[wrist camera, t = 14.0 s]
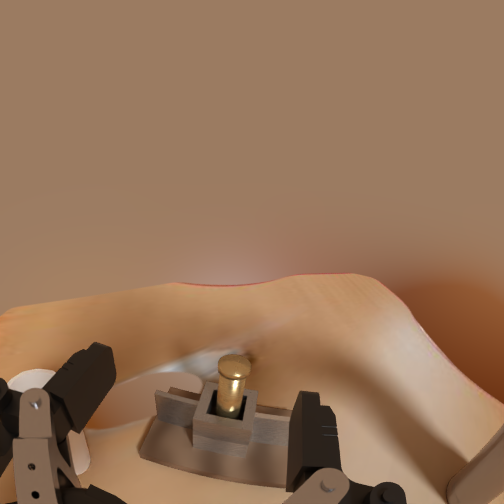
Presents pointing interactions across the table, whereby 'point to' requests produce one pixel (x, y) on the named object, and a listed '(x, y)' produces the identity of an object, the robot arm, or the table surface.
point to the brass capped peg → (231, 385)
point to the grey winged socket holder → (222, 422)
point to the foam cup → (77, 441)
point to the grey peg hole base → (215, 464)
